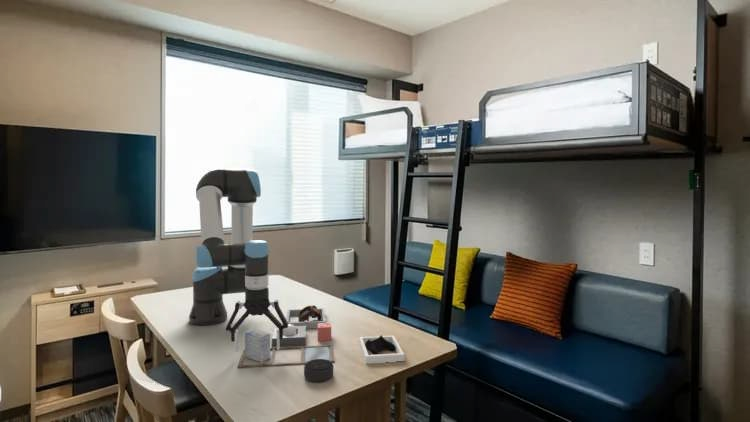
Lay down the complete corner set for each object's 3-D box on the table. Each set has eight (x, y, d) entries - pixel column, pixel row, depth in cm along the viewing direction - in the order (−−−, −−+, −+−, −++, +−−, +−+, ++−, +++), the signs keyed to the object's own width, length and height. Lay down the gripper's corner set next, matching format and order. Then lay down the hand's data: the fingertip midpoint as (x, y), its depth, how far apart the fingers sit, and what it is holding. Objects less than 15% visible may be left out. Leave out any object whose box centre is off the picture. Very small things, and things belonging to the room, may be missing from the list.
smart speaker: (311, 368, 134) (311, 356, 134) (337, 372, 132) (337, 360, 131) (299, 381, 126) (299, 368, 126) (326, 385, 123) (326, 372, 123)
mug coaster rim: (285, 329, 168) (285, 323, 168) (287, 315, 186) (287, 309, 186) (325, 327, 171) (325, 321, 171) (323, 313, 188) (323, 308, 188)
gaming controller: (391, 355, 151) (380, 339, 154) (397, 347, 149) (386, 331, 152) (370, 363, 143) (359, 346, 146) (377, 355, 141) (365, 338, 144)
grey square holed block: (271, 346, 151) (271, 338, 151) (274, 334, 163) (274, 326, 162) (305, 345, 153) (305, 337, 153) (305, 333, 165) (305, 325, 164)
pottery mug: (322, 328, 172) (312, 312, 169) (302, 336, 173) (292, 321, 171) (326, 311, 183) (317, 297, 181) (308, 320, 185) (298, 305, 182)
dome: (282, 341, 155) (282, 327, 154) (283, 336, 160) (283, 322, 159) (296, 341, 156) (296, 326, 155) (296, 336, 161) (296, 322, 160)
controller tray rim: (365, 363, 138) (365, 356, 137) (359, 343, 154) (359, 337, 154) (404, 361, 140) (404, 354, 140) (393, 342, 157) (393, 335, 156)
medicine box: (270, 358, 141) (270, 333, 140) (260, 363, 137) (260, 337, 137) (254, 353, 145) (254, 328, 145) (244, 357, 142) (244, 332, 141)
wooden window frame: (237, 368, 134) (237, 366, 133) (243, 350, 147) (243, 349, 147) (334, 362, 139) (334, 361, 138) (332, 345, 152) (332, 344, 152)
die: (317, 340, 157) (317, 326, 156) (317, 335, 162) (317, 321, 161) (331, 340, 158) (331, 325, 157) (330, 335, 163) (330, 321, 162)
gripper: (215, 291, 134) (216, 355, 135) (294, 288, 138) (295, 351, 139) (220, 285, 141) (221, 346, 143) (295, 283, 145) (295, 343, 147)
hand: (257, 349), depth 141 cm, fingers open, 13 cm apart
